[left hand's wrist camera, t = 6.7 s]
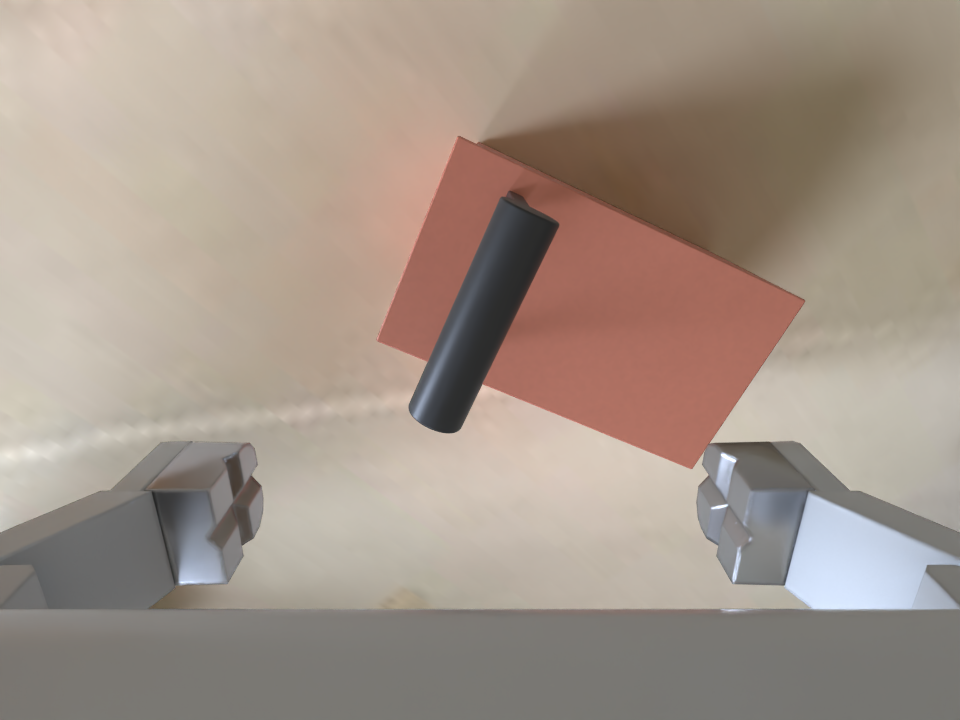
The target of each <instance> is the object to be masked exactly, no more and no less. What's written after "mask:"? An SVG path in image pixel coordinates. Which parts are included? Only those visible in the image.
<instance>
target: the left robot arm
mask: <svg viewBox="0 0 960 720" xmlns="http://www.w3.org/2000/svg"><path fill="white" fill-rule="evenodd" d="M257 465H258V463H257V458H256V453H255V448H254V447H253V446H252V445H251V444H250V443H240V442H192V441H175V442H162V443H160V444H159V445H158V446H157V447H156V448H155V449H153V450H152V451H151V452H150V453H149V454H148V455H147V456H146V457H145V458H144V459H143V460H142V461H141V462H140V463H139V464H138V465H137V466H136V467H134V468H133V469H132V470H131V471H130V472H129V473H128V474H127V475H126V476H125V477H124V478H123V479H122V480H121V481H120V482H119V483H118V484H117V485H115V486H114V487H113V488H112V489H111V490H110V491H99V492H97V493H94V494H92V495H89V496H87V497H85V498H82V499H80V500H77V501H75V502H73V503H70V504H68V505H65V506H63V507H61V508H58V509H56V510H53V511H51V512H49V513H46V514H44V515H41V516H39V517H37V518H34V519H32V520H29V521H27V522H25V523H22V524H20V525H17V526H15V527H13V528H10V529H8V530H5V531H3V532H1V533H0V720H960V533H959V532H957V531H954V530H952V529H949V528H947V527H945V526H942V525H940V524H938V523H935V522H933V521H930V520H928V519H926V518H923V517H921V516H918V515H916V514H914V513H911V512H909V511H906V510H904V509H902V508H899V507H897V506H894V505H892V504H890V503H887V502H885V501H882V500H880V499H878V498H875V497H873V496H871V495H868V494H866V493H863V492H861V491H850V490H849V489H848V488H847V487H846V486H845V485H844V484H842V483H841V482H840V481H839V480H838V479H837V478H836V477H835V476H834V475H833V474H832V473H831V472H830V471H829V470H828V469H827V468H826V467H825V466H824V465H822V464H821V463H820V462H819V461H818V460H817V459H816V458H815V457H814V456H813V455H812V454H811V453H810V452H809V451H808V450H807V449H806V448H805V447H804V446H802V445H801V444H800V443H798V442H794V441H780V442H735V443H711V444H708V445H707V447H706V450H705V452H704V457H703V462H702V465H703V467H704V468H705V470H706V471H707V473H708V475H709V476H708V477H707V478H706V479H705V480H704V481H703V482H702V483H701V484H700V485H699V486H698V494H697V502H696V503H697V514H698V520H699V523H700V526H701V529H702V531H703V533H704V535H705V536H706V538H707V539H708V540H710V541H712V542H713V543H715V544H716V545H718V550H717V558H718V560H719V561H720V563H721V565H722V567H723V568H724V570H725V572H726V574H727V575H728V577H729V579H730V581H731V582H732V584H750V585H785V587H784V588H786V589H787V590H788V591H789V592H791V593H792V594H793V595H795V596H796V597H797V598H799V599H800V600H801V601H803V602H804V603H805V604H807V605H808V606H809V607H811V608H812V609H148V608H150V607H151V606H152V605H154V604H155V603H156V602H158V601H159V600H160V599H162V598H163V597H164V596H165V595H167V594H168V593H169V592H171V591H172V590H173V589H175V585H209V584H228V582H229V581H230V579H231V577H232V575H233V574H234V572H235V570H236V568H237V567H238V565H239V563H240V561H241V560H242V558H243V556H244V555H243V550H242V545H244V544H245V543H247V542H248V541H250V540H252V539H253V538H254V536H255V535H256V533H257V531H258V529H259V527H260V523H261V518H262V514H263V493H262V486H261V485H260V484H259V483H258V482H257V481H256V480H255V479H254V478H253V477H252V476H251V475H252V473H253V471H254V470H255V468H256V467H257Z"/></svg>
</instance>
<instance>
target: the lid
mask: <svg viewBox="0 0 960 720" xmlns="http://www.w3.org/2000/svg"><path fill="white" fill-rule="evenodd" d="M804 303H805V300H804V299H802V298H800V297H798V296H796V295H794V294H792V293H790V292H788V291H786V290H783V289H781V288H779V287H777V286H775V285H773V284H771V283H769V282H767V281H764V280H762V279H760V278H758V277H756V276H754V275H752V274H750V273H748V272H745V271H743V270H741V269H739V268H737V267H735V266H733V265H731V264H729V263H726V262H724V261H722V260H720V259H718V258H716V257H714V256H712V255H710V254H707V253H705V252H703V251H701V250H699V249H697V248H695V247H693V246H691V245H688V244H686V243H684V242H682V241H680V240H678V239H676V238H674V237H672V236H669V235H667V234H665V233H663V232H661V231H659V230H657V229H655V228H653V227H651V226H648V225H646V224H644V223H642V222H640V221H638V220H636V219H634V218H632V217H629V216H627V215H625V214H623V213H621V212H619V211H617V210H615V209H613V208H610V207H608V206H606V205H604V204H602V203H600V202H598V201H596V200H594V199H591V198H589V197H587V196H585V195H583V194H581V193H579V192H577V191H575V190H572V189H570V188H568V187H566V186H564V185H562V184H560V183H558V182H556V181H553V180H551V179H549V178H547V177H545V176H543V175H541V174H539V173H537V172H535V171H532V170H530V169H528V168H526V167H524V166H522V165H520V164H518V163H516V162H513V161H511V160H509V159H507V158H505V157H503V156H501V155H499V154H497V153H494V152H492V151H490V150H488V149H486V148H484V147H482V146H480V145H478V144H475V143H473V142H471V141H469V140H467V139H465V138H463V137H461V136H458V137H457V139H456V142H455V144H454V147H453V149H452V152H451V154H450V157H449V159H448V162H447V164H446V167H445V169H444V172H443V174H442V177H441V179H440V182H439V184H438V187H437V189H436V192H435V194H434V197H433V199H432V202H431V204H430V207H429V209H428V212H427V214H426V217H425V219H424V222H423V224H422V227H421V229H420V232H419V234H418V237H417V239H416V242H415V244H414V247H413V249H412V252H411V254H410V257H409V259H408V262H407V264H406V267H405V269H404V272H403V274H402V277H401V279H400V282H399V284H398V287H397V289H396V292H395V294H394V297H393V299H392V302H391V304H390V307H389V309H388V312H387V314H386V317H385V319H384V322H383V324H382V327H381V329H380V332H379V334H378V337H377V341H378V342H380V343H383V344H385V345H388V346H390V347H393V348H395V349H398V350H400V351H403V352H405V353H407V354H410V355H412V356H415V357H417V358H420V359H422V360H425V361H427V362H428V363H427V365H426V367H425V369H424V372H423V374H422V376H421V378H420V381H419V383H418V385H417V387H416V390H415V392H414V394H413V396H412V399H411V401H410V403H409V411H410V413H411V415H412V416H413V417H414V418H415V419H416V420H417V421H418V422H419V423H421V424H422V425H424V426H425V427H427V428H429V429H432V430H434V431H438V432H442V433H455V432H457V431H459V430H460V429H461V427H462V425H463V423H464V421H465V419H466V417H467V415H468V413H469V411H470V409H471V406H472V404H473V402H474V400H475V398H476V396H477V394H478V392H479V390H480V388H481V386H482V384H484V385H486V386H488V387H491V388H493V389H496V390H498V391H501V392H503V393H506V394H508V395H511V396H513V397H515V398H518V399H520V400H523V401H525V402H528V403H530V404H533V405H535V406H538V407H540V408H542V409H545V410H547V411H550V412H552V413H555V414H557V415H560V416H562V417H565V418H567V419H569V420H572V421H574V422H577V423H579V424H582V425H584V426H587V427H589V428H592V429H594V430H596V431H599V432H601V433H604V434H606V435H609V436H611V437H614V438H616V439H619V440H621V441H623V442H626V443H628V444H631V445H633V446H636V447H638V448H641V449H643V450H646V451H648V452H650V453H653V454H655V455H658V456H660V457H663V458H665V459H668V460H670V461H673V462H675V463H677V464H680V465H682V466H685V467H687V468H690V469H692V468H693V467H694V465H695V464H696V462H697V461H698V459H699V458H700V457H701V455H702V454H703V452H704V451H705V449H706V447H707V445H708V444H709V443H710V442H711V440H712V439H713V437H714V436H715V434H716V433H717V431H718V430H719V428H720V427H721V425H722V424H723V422H724V421H725V420H726V418H727V417H728V415H729V414H730V412H731V411H732V409H733V408H734V406H735V405H736V403H737V402H738V400H739V399H740V397H741V396H742V394H743V393H744V391H745V390H746V388H747V387H748V385H749V384H750V383H751V381H752V380H753V378H754V377H755V375H756V374H757V372H758V371H759V369H760V368H761V366H762V365H763V363H764V362H765V360H766V359H767V357H768V356H769V354H770V353H771V351H772V350H773V348H774V347H775V345H776V344H777V343H778V341H779V340H780V338H781V337H782V335H783V334H784V332H785V331H786V329H787V328H788V326H789V325H790V323H791V322H792V320H793V319H794V317H795V316H796V314H797V313H798V311H799V310H800V308H801V307H802V306H803V304H804Z"/></svg>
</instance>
